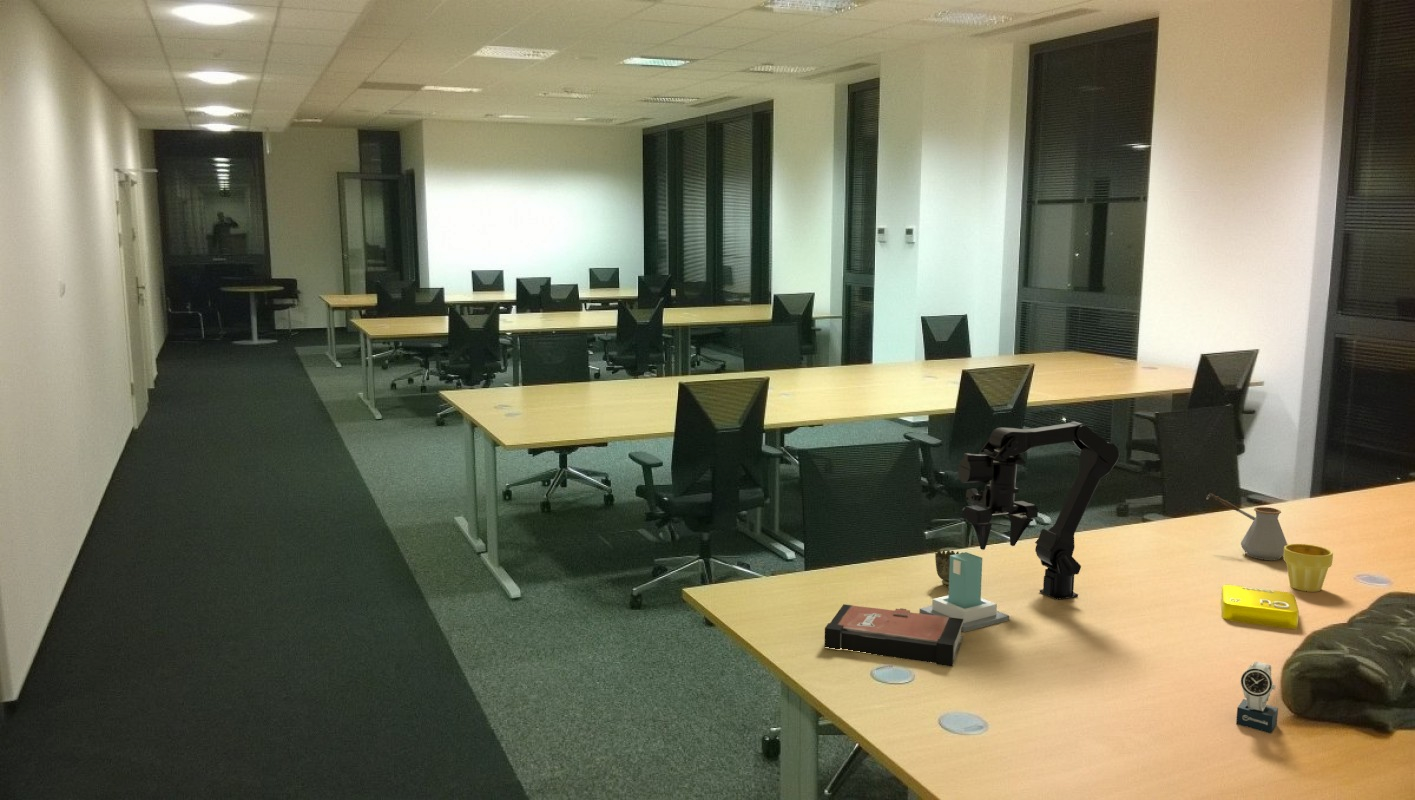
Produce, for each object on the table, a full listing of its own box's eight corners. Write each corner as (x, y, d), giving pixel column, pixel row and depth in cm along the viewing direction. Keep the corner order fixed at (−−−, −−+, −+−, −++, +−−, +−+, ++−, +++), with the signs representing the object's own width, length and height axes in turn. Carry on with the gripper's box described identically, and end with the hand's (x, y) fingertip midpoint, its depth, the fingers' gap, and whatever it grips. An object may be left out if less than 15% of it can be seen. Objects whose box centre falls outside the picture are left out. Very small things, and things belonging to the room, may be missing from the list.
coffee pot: (1293, 556, 277) (1298, 502, 275) (1280, 565, 269) (1285, 509, 267) (1210, 540, 292) (1214, 489, 290) (1195, 548, 284) (1199, 496, 282)
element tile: (1292, 610, 237) (1294, 590, 236) (1298, 632, 224) (1300, 611, 223) (1220, 600, 243) (1221, 581, 243) (1221, 621, 230) (1223, 601, 229)
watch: (1233, 728, 178) (1238, 668, 176) (1244, 712, 184) (1249, 653, 183) (1269, 737, 175) (1274, 676, 173) (1279, 721, 181) (1284, 661, 179)
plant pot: (1283, 591, 248) (1287, 552, 247) (1278, 579, 258) (1281, 541, 257) (1333, 597, 245) (1336, 557, 243) (1325, 584, 254) (1329, 545, 253)
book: (963, 637, 221) (964, 615, 220) (952, 668, 204) (953, 645, 204) (843, 622, 230) (844, 601, 229) (824, 651, 214) (824, 628, 213)
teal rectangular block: (964, 606, 235) (966, 552, 233) (980, 613, 231) (982, 557, 229) (946, 611, 233) (948, 555, 231) (962, 617, 228) (964, 561, 226)
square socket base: (963, 601, 242) (964, 587, 241) (1009, 620, 230) (1010, 605, 229) (919, 612, 234) (919, 597, 234) (964, 632, 223) (964, 616, 222)
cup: (965, 591, 249) (966, 559, 248) (934, 589, 250) (935, 557, 249) (964, 581, 256) (965, 550, 255) (933, 579, 258) (934, 549, 256)
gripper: (1008, 473, 250) (1003, 535, 252) (948, 477, 241) (943, 542, 244) (1042, 482, 240) (1036, 547, 242) (981, 488, 232) (976, 554, 234)
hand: (997, 547), depth 241 cm, fingers open, 9 cm apart
